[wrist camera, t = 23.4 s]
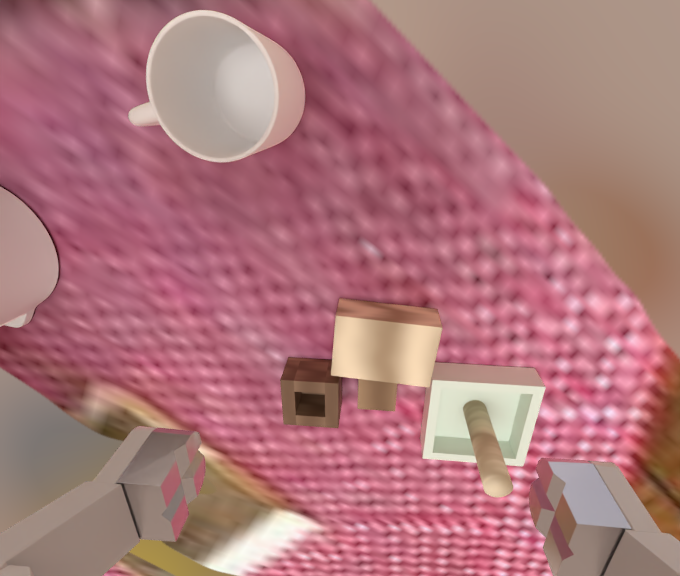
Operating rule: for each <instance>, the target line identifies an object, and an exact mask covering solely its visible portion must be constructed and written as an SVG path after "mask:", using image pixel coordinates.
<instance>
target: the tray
mask: <svg viewBox="0 0 680 576" xmlns="http://www.w3.org/2000/svg"><path fill="white" fill-rule="evenodd" d="M544 391H545V385H544V383H543V382H542V380H541V378H540V376H539V375H538V373H537V371H536V370H535V368H526V367H508V366H491V365H474V364H457V363H440V362H435V364H434V369H433V373H432V378H431V382H430V387H426V393H425V401H424V410H423V418H422V426H421V434H420V441H421V449H422V458H424V459H437V460H449V461H462V462H475V463H477V461H476V458H475V454H474V450H473V446H472V442H471V439H470V435H469V431H468V427H467V423H466V420H465V416H464V412H463V407H464V405H465V404H466V403H467V402H469V401H472V400H479V401H481V402H483V403H484V404H485V406H486V408H487V411H488V414H489V417H490V420H491V423H492V426H493V429H494V432H495V435H496V438H497V441H498V443H499V446H500V449H501V452H502V455H503V458H504V461H505V464H506V465H513V466H523V465H524V462H525V458H526V455H527V451H528V448H529V444H530V441H531V437H532V433H533V430H534V426H535V423H536V419H537V416H538V412H539V409H540V405H541V402H542V398H543V394H544Z"/></svg>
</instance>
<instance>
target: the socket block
mask: <svg viewBox="0 0 680 576" xmlns="http://www.w3.org/2000/svg"><path fill="white" fill-rule="evenodd" d="M331 367H332V360H325V359H308V358H291V357H289V358H288V360H287V363H286V366H285V369H284V371H283V374H282V377H281V380H280V381H281V395H282V408H283V421H284V424H289V425H303V426H316V427H330V428H338V426H339V419H340V411H341V404H342V377H340V376H331Z"/></svg>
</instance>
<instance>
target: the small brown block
mask: <svg viewBox="0 0 680 576" xmlns="http://www.w3.org/2000/svg"><path fill="white" fill-rule="evenodd" d="M396 393H397V383H389V382H381V381H372V380H364V379H358V409H370V410H385V411H395V405H396Z"/></svg>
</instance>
